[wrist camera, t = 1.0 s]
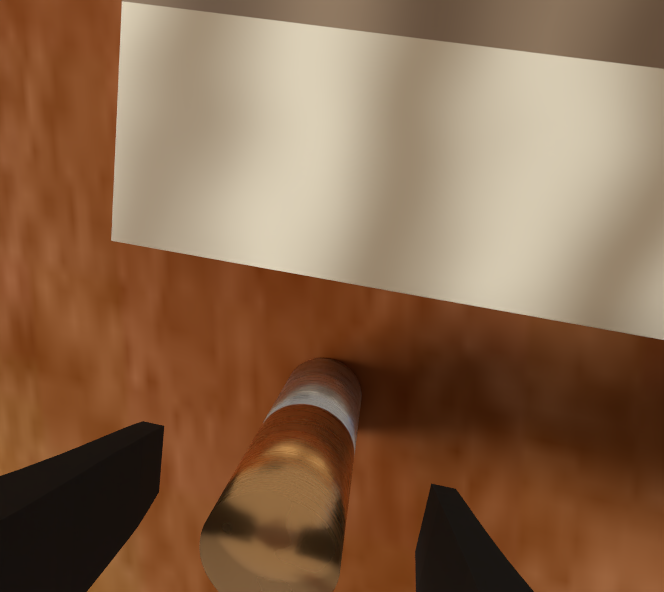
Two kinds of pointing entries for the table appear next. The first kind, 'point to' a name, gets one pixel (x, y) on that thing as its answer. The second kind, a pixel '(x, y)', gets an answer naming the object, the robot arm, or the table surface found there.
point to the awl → (289, 490)
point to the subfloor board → (405, 147)
